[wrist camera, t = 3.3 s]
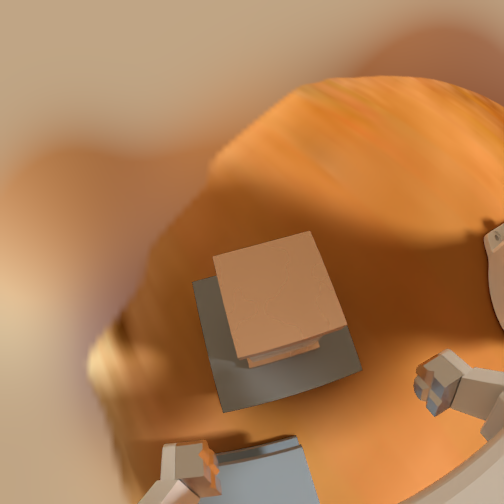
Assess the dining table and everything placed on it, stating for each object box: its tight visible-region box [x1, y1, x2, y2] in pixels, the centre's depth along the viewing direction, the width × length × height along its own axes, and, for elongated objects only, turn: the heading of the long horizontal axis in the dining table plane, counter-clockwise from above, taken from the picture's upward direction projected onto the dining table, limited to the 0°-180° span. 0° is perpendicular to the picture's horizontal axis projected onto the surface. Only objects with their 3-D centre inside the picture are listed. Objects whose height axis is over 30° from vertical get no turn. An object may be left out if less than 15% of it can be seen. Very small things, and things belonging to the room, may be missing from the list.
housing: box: [213, 231, 347, 369], centre depth 16 cm, size 5×5×8 cm
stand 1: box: [192, 276, 362, 413], centre depth 22 cm, size 10×10×5 cm
